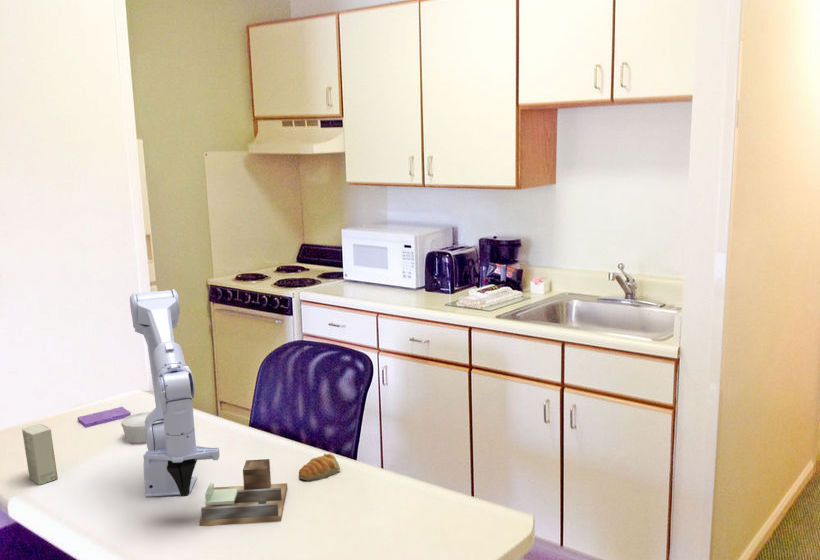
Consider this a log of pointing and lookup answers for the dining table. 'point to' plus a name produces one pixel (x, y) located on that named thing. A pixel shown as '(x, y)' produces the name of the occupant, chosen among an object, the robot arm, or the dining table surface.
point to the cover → (220, 495)
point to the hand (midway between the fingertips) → (185, 494)
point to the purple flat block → (103, 417)
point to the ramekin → (135, 427)
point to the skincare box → (40, 454)
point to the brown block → (257, 474)
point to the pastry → (319, 468)
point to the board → (247, 506)
